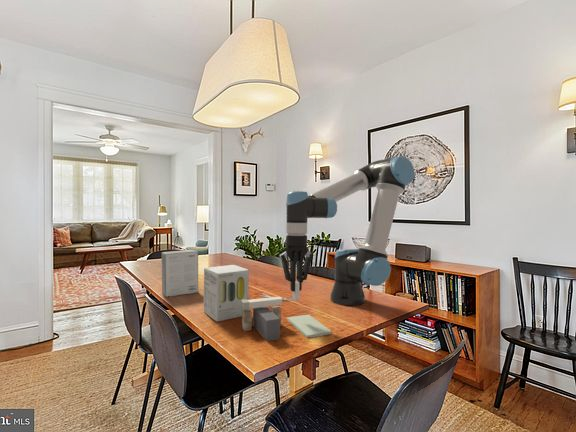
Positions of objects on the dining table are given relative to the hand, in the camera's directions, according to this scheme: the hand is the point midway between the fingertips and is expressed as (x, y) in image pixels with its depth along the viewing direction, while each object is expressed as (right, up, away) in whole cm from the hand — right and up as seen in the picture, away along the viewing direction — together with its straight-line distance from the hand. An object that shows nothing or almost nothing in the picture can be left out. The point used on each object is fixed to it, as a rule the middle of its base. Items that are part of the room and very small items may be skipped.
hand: (295, 299), depth 109 cm
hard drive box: (-54, -7, +36) cm, 65 cm away
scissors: (-10, -8, +29) cm, 32 cm away
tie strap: (-12, -1, -5) cm, 13 cm away
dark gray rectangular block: (-10, -8, -9) cm, 16 cm away
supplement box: (-27, -8, +8) cm, 29 cm away
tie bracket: (-12, -8, -5) cm, 15 cm away
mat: (+4, -8, -4) cm, 10 cm away
